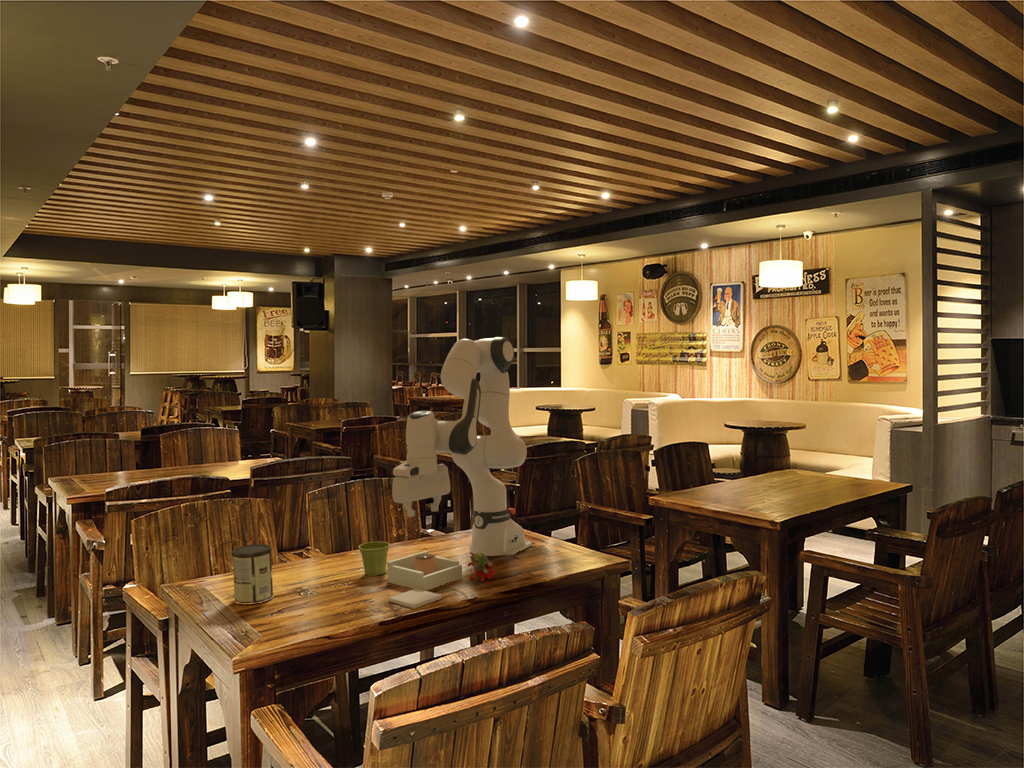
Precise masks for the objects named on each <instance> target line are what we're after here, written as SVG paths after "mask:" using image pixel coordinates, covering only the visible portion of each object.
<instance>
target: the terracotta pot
mask: <svg viewBox="0 0 1024 768" xmlns="http://www.w3.org/2000/svg"><path fill="white" fill-rule="evenodd" d="M436 556H437V555H435V554H432V553H431V554H430V553H429V554H420V555H417V556H414V570H416V571H420V572H424V576H425V575H428V574H431V573H434V572H436Z"/></svg>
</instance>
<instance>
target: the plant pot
mask: <svg viewBox="0 0 1024 768" xmlns="http://www.w3.org/2000/svg"><path fill="white" fill-rule="evenodd" d="M390 546H391V544H390V543H389V542H386V541H369V542H365V543H361V544H359V545H358V549H359V551H360V554H361V559H362V563H363V570H364V574H365V575H366V576H367V577H369V576H370V577H375V576H379V575H384V574H385V573H386V568H387V558H388V552H389V547H390Z"/></svg>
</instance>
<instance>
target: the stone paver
mask: <svg viewBox="0 0 1024 768" xmlns="http://www.w3.org/2000/svg"><path fill="white" fill-rule="evenodd" d="M442 597H443V596H442V594H439V593H436V592H432V591H429V590H428V591H425V590H421V589H417V588H416V589H410V590H408V591H405V592H402V593H399V594H396V595H393V596H390V597H388V602H390V603H393V604H397V605H400V606H403V607H408V608H409V609H414V610H416V609H418V608H420V607H423V606H426V605H428V604H431V603H434V602H436V600H437V601H439V600H442V599H441V598H442Z"/></svg>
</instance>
